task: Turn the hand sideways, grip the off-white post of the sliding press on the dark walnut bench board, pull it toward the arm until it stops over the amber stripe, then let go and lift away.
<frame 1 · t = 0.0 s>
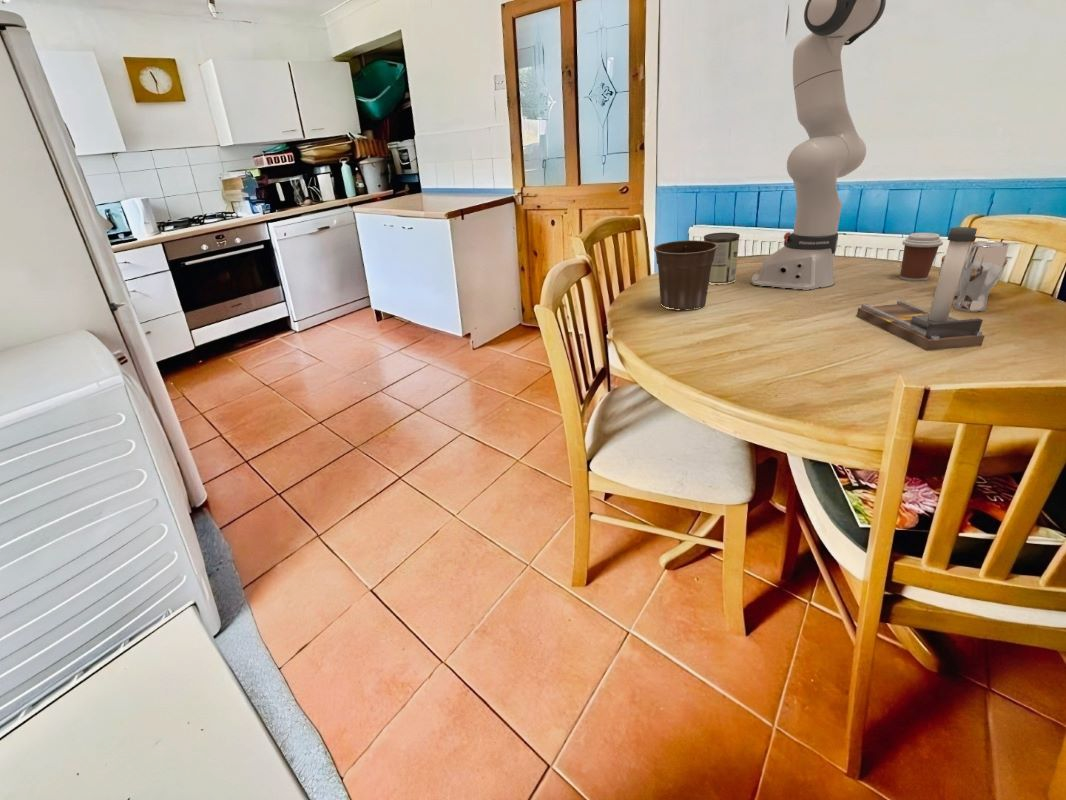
beer glass: (968, 309, 119), on the table
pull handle: (948, 280, 100), point 12 cm above the table, slide at 0.0 cm
plant pot: (682, 305, 141), on the table
coffee can: (717, 281, 159), on the table
press bed: (931, 337, 106), on the table
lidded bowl: (962, 294, 129), on the table
coffee cup: (913, 278, 145), on the table
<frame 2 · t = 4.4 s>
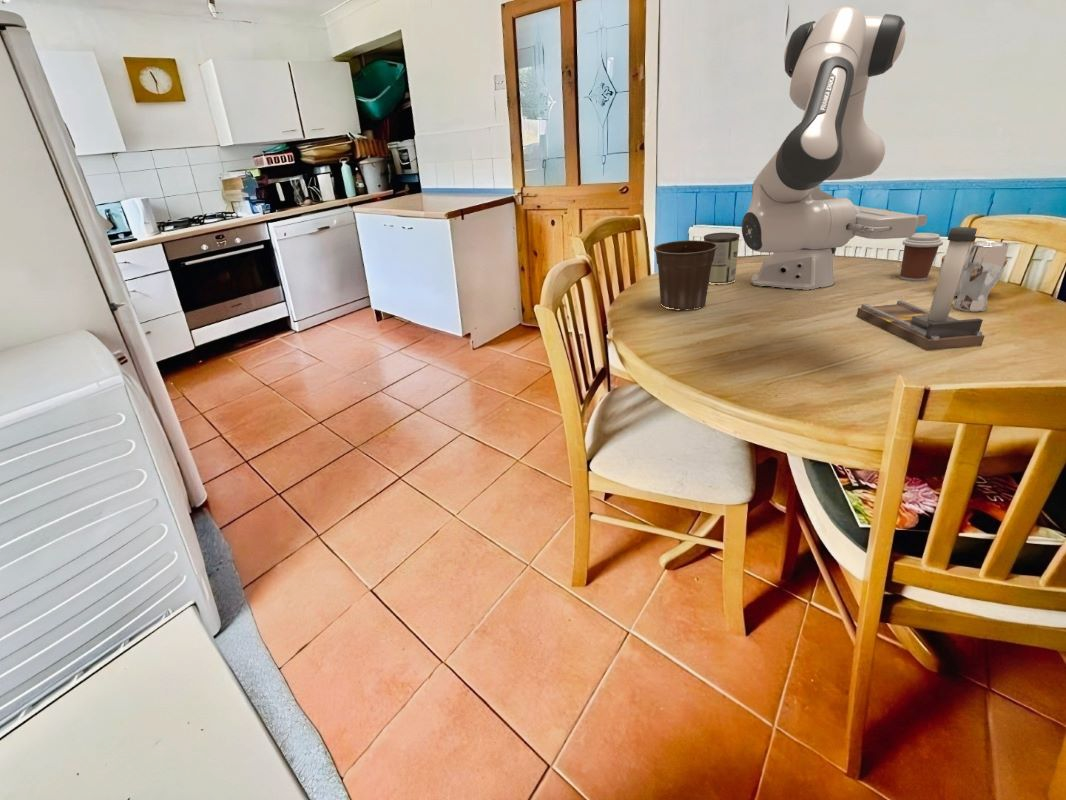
hand: (905, 216, 94), 25 cm above the table, tool horizontal, fingers open, 8 cm apart
nothing on the table moved.
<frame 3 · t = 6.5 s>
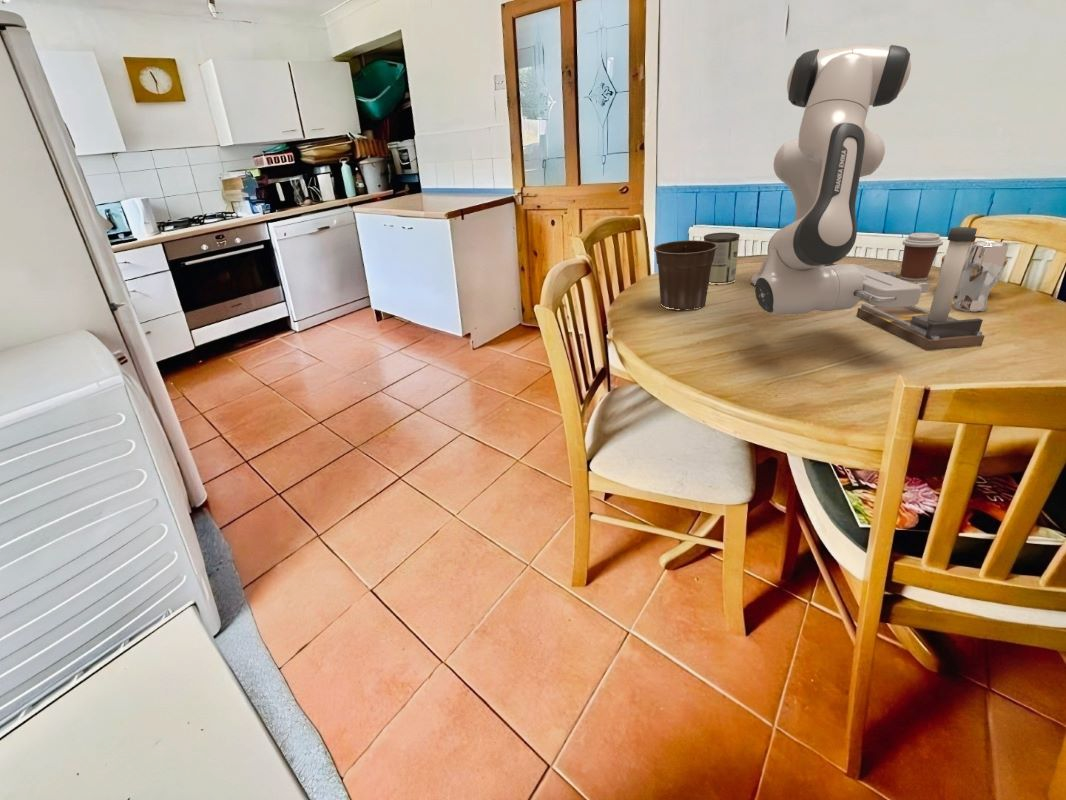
hand: (909, 280, 100), 13 cm above the table, tool horizontal, fingers open, 8 cm apart
nothing on the table moved.
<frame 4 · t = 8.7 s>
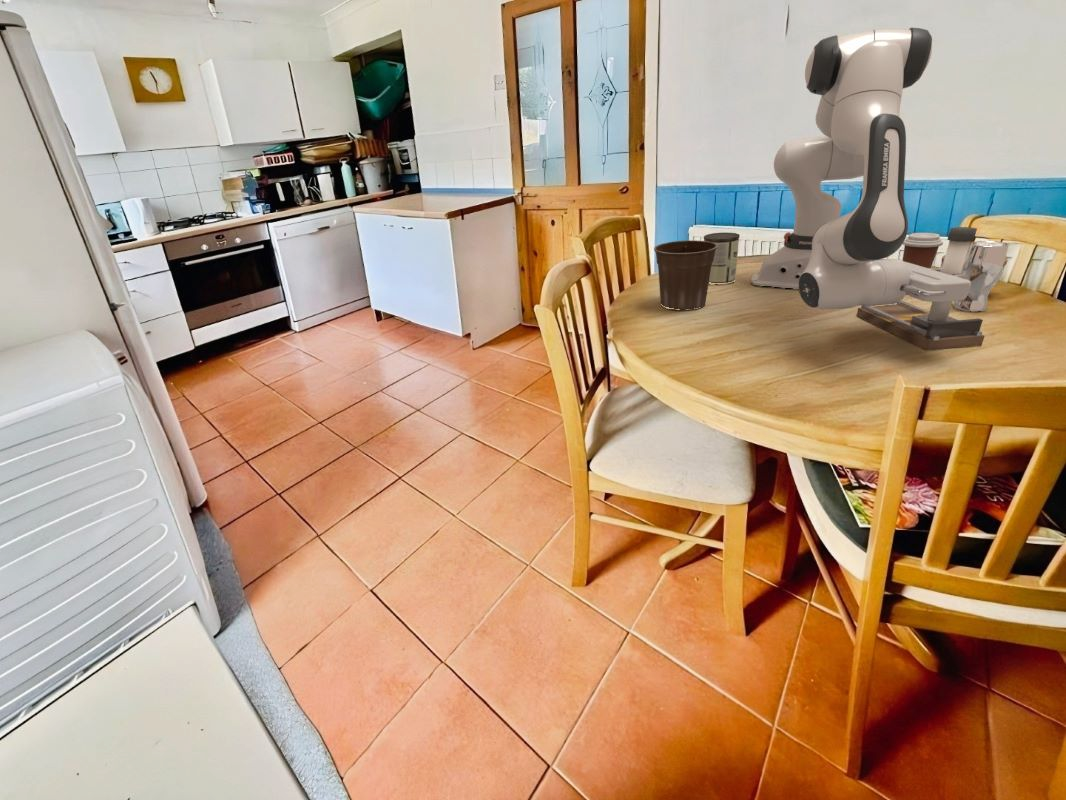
hand: (954, 275, 100), 13 cm above the table, tool horizontal, fingers closed on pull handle, 3 cm apart
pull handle: (948, 280, 101), point 12 cm above the table, slide at 0.0 cm, touching gripper
everything else where it was.
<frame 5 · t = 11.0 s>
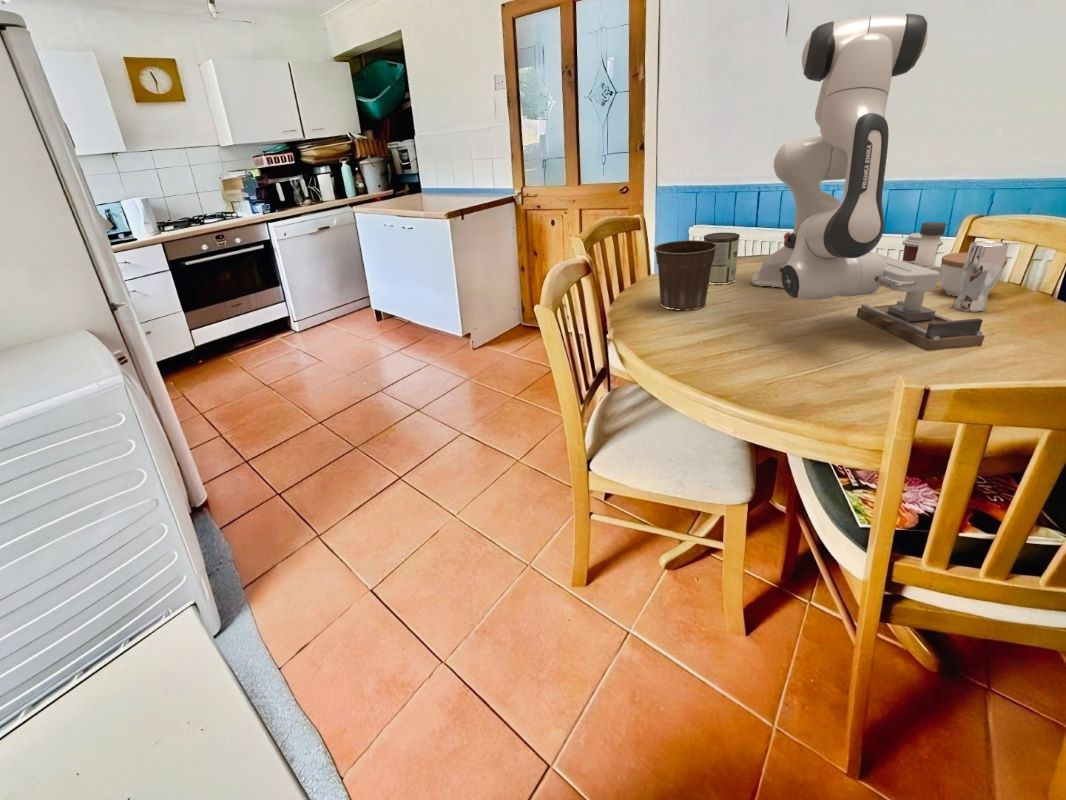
hand: (926, 268, 107), 13 cm above the table, tool horizontal, fingers closed on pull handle, 3 cm apart
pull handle: (921, 272, 107), point 12 cm above the table, slide at 7.4 cm, touching gripper
everything else where it was.
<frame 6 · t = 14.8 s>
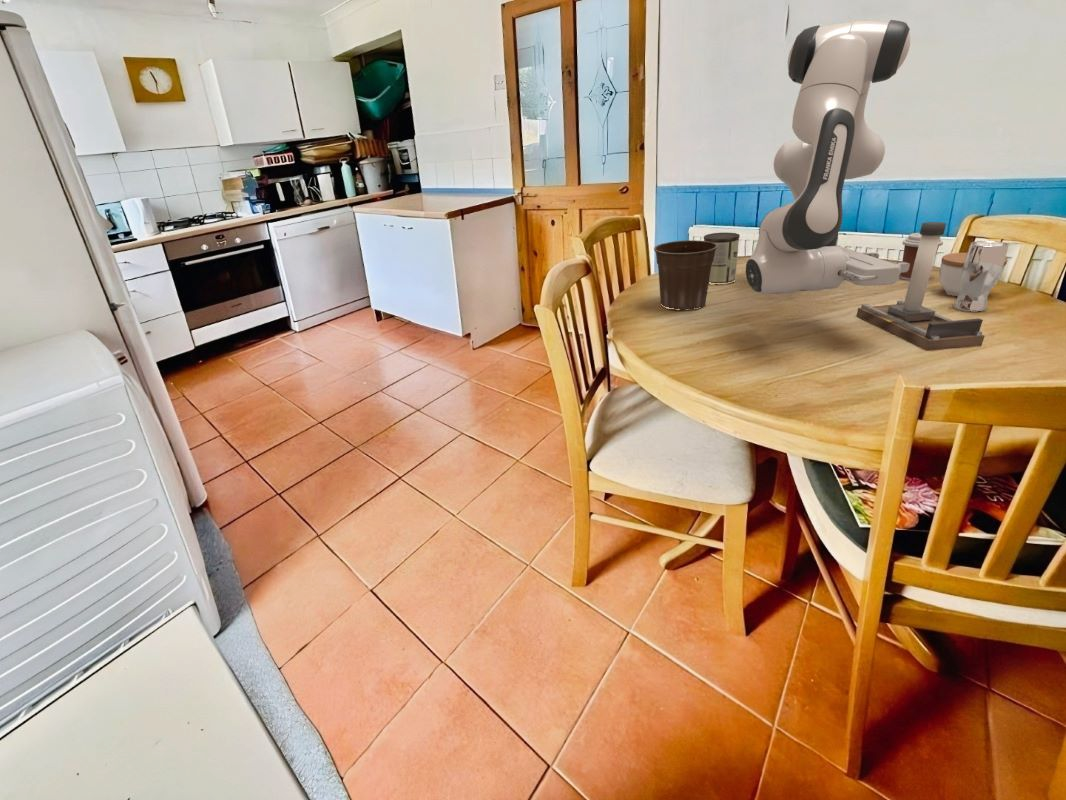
hand: (891, 261, 106), 15 cm above the table, tool horizontal, fingers open, 8 cm apart
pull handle: (921, 272, 107), point 12 cm above the table, slide at 7.5 cm
everything else where it was.
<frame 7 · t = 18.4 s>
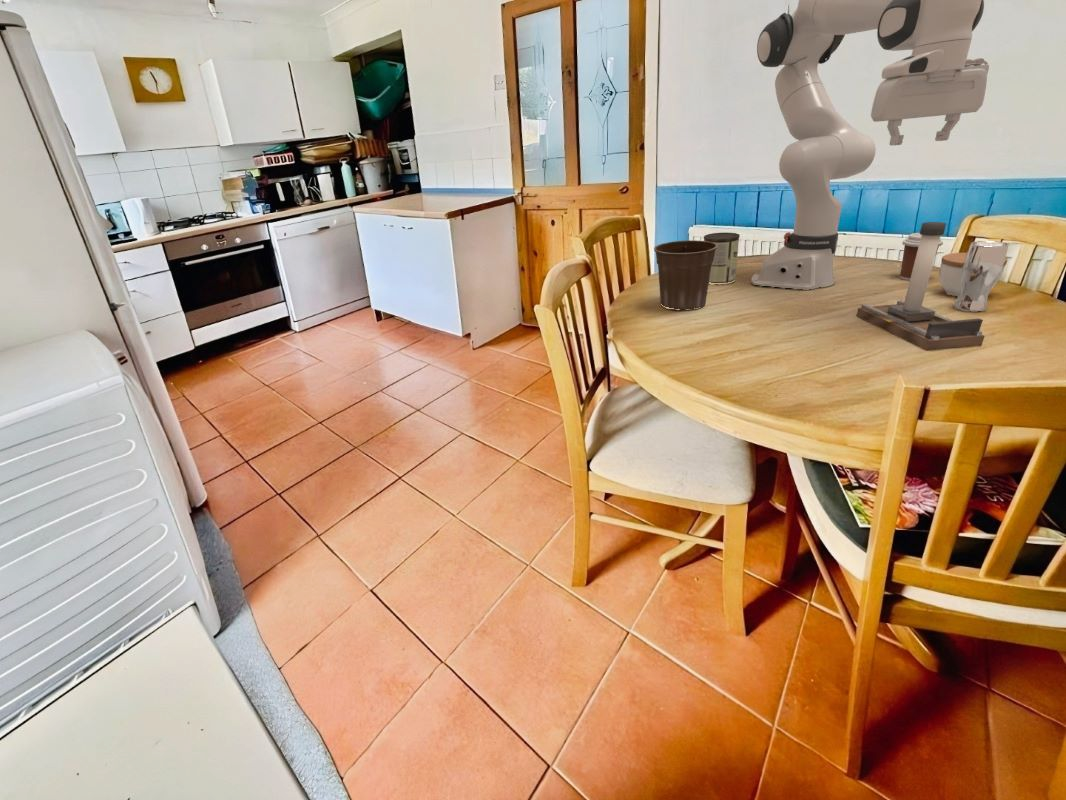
hand: (918, 142, 103), 37 cm above the table, tool pointing down, fingers open, 8 cm apart
nothing on the table moved.
at the end: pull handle slide at 7.5 cm; the gripper is holding nothing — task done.
